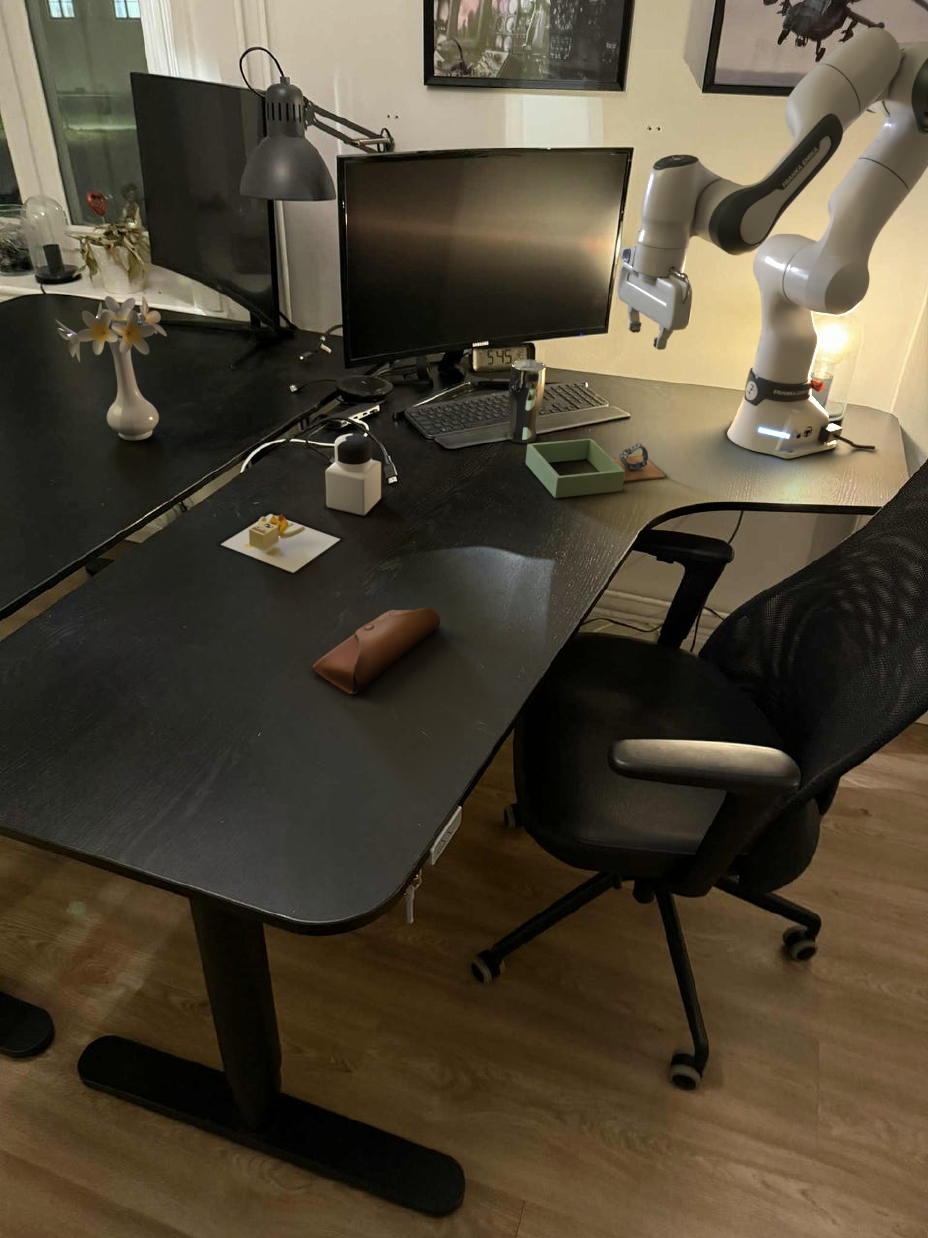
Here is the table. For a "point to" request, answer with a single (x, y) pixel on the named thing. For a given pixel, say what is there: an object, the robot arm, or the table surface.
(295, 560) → the miniature model
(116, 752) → the table surface
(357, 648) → the sunglasses case
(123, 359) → the flower vase
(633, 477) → the cork pad
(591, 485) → the tray
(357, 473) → the medicine bottle
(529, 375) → the shiny metal tumbler
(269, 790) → the table surface
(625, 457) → the wristwatch
